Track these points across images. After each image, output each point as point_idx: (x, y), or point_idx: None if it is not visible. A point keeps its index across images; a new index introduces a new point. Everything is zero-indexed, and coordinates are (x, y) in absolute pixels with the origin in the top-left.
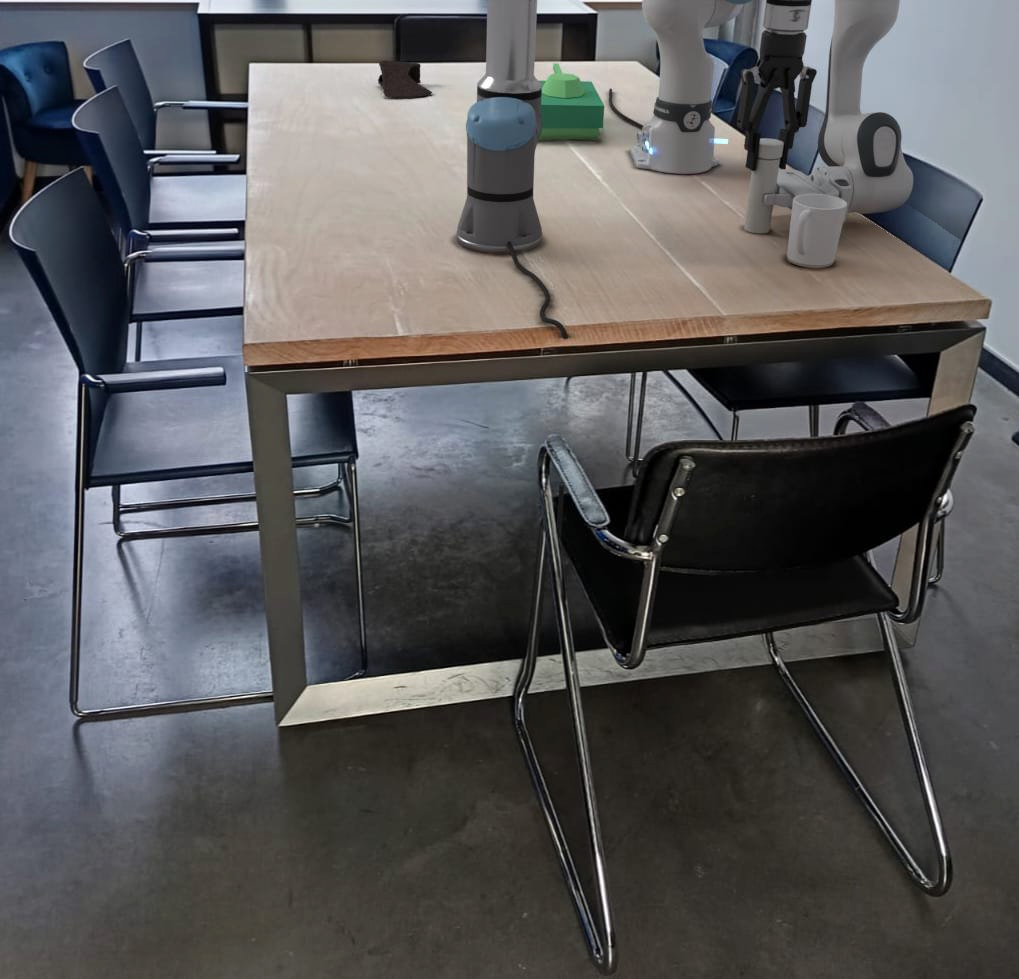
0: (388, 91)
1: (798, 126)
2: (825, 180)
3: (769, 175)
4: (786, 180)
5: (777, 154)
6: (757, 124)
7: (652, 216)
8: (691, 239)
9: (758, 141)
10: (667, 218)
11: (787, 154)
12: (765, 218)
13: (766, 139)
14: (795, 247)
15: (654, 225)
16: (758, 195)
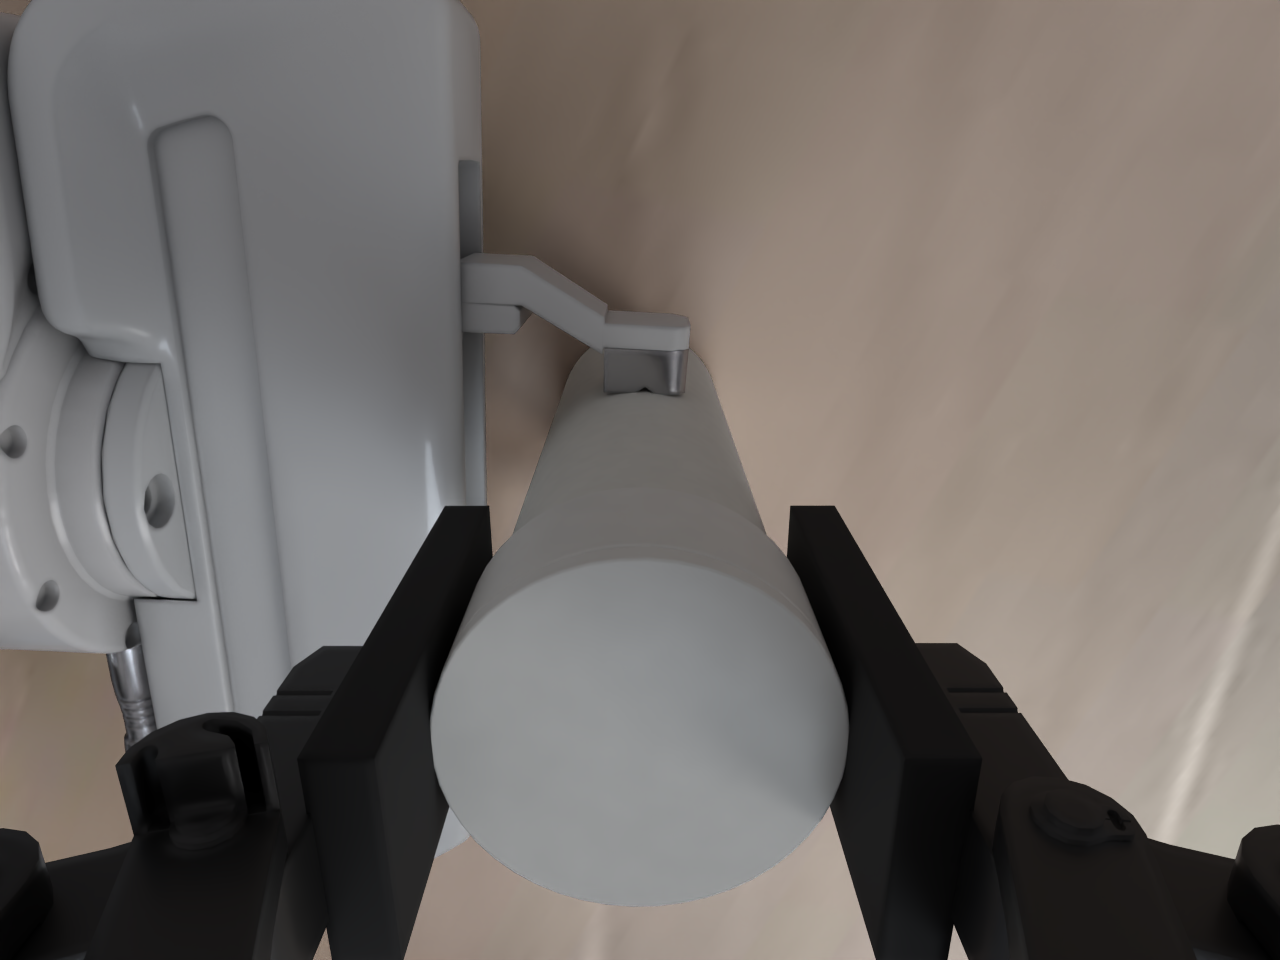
0: None
1: (87, 874)
2: (53, 405)
3: (652, 440)
4: (385, 575)
5: (589, 513)
6: (1072, 906)
7: (1101, 719)
8: (1125, 317)
9: (892, 681)
10: (1042, 677)
11: (408, 573)
12: None
13: (610, 861)
14: None
15: (1181, 588)
16: (710, 414)
